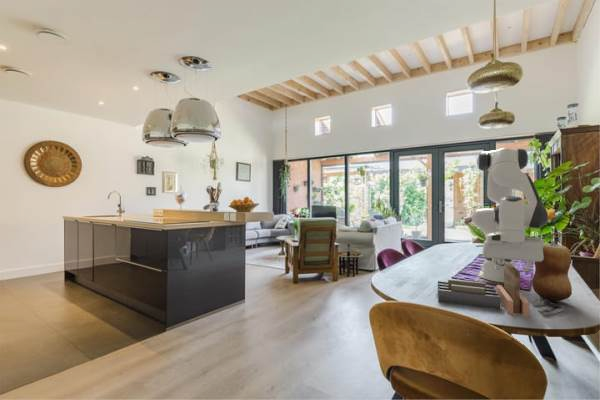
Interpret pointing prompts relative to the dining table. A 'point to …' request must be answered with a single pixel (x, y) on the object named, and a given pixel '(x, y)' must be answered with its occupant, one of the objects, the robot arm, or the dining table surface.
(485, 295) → the rack
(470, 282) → the offcut
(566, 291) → the butternut squash
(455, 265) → the dining table surface
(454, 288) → the offcut
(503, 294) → the holder
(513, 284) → the tall sheet
